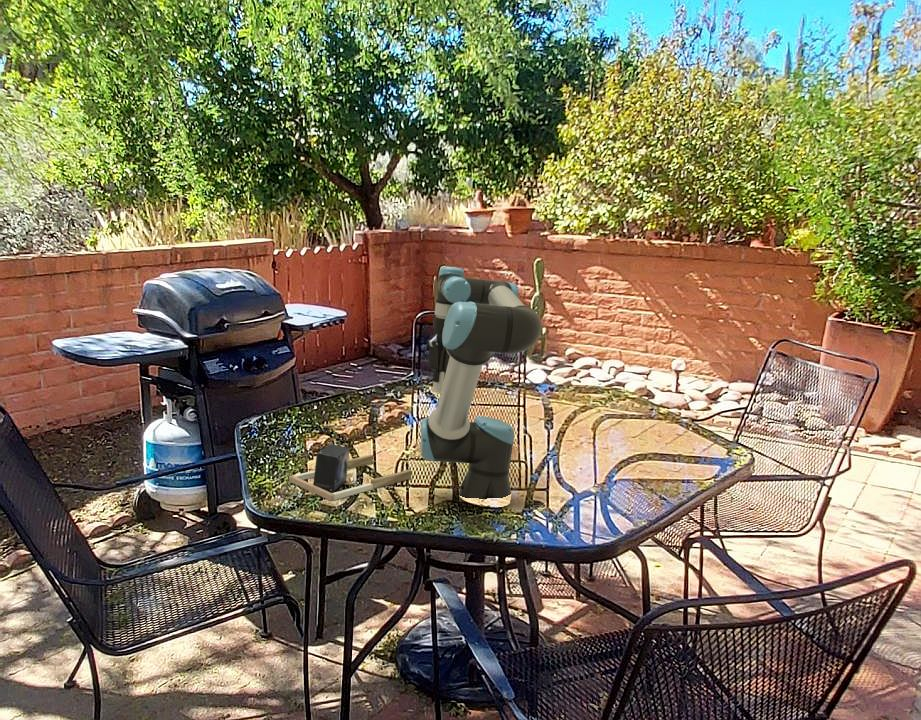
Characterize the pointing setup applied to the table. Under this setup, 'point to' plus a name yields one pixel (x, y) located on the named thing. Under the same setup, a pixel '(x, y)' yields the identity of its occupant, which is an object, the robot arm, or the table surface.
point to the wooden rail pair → (381, 480)
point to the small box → (331, 467)
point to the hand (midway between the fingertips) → (437, 391)
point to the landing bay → (300, 482)
